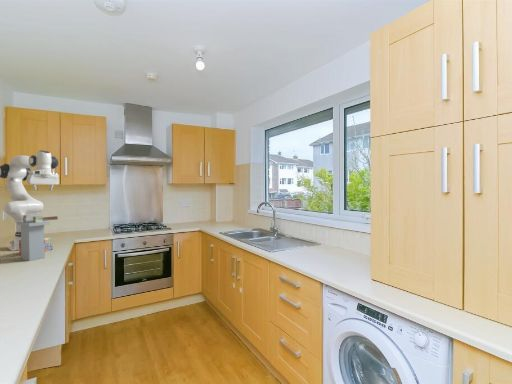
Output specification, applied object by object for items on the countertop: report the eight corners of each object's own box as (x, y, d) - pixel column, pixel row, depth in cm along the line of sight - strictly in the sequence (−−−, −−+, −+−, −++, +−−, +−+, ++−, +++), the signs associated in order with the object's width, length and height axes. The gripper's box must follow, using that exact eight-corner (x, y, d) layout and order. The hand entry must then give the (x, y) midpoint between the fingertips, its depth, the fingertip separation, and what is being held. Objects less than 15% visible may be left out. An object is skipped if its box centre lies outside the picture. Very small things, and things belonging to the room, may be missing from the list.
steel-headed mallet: (23, 222, 195) (22, 215, 194) (55, 219, 212) (54, 212, 212) (26, 222, 192) (26, 215, 192) (58, 219, 210) (58, 212, 209)
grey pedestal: (17, 258, 198) (16, 221, 197) (37, 254, 208) (36, 219, 207) (29, 262, 189) (29, 223, 188) (50, 257, 199) (49, 221, 199)
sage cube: (32, 222, 194) (32, 216, 194) (39, 221, 197) (39, 216, 197) (35, 222, 192) (35, 216, 192) (42, 222, 195) (42, 216, 195)
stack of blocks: (46, 249, 226) (45, 234, 226) (52, 249, 225) (52, 234, 225) (18, 255, 205) (18, 239, 205) (25, 256, 204) (25, 239, 204)
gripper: (56, 173, 222) (55, 190, 222) (25, 171, 204) (25, 190, 204) (61, 173, 219) (60, 190, 219) (30, 171, 201) (29, 190, 201)
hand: (43, 190), depth 212 cm, fingers open, 8 cm apart
